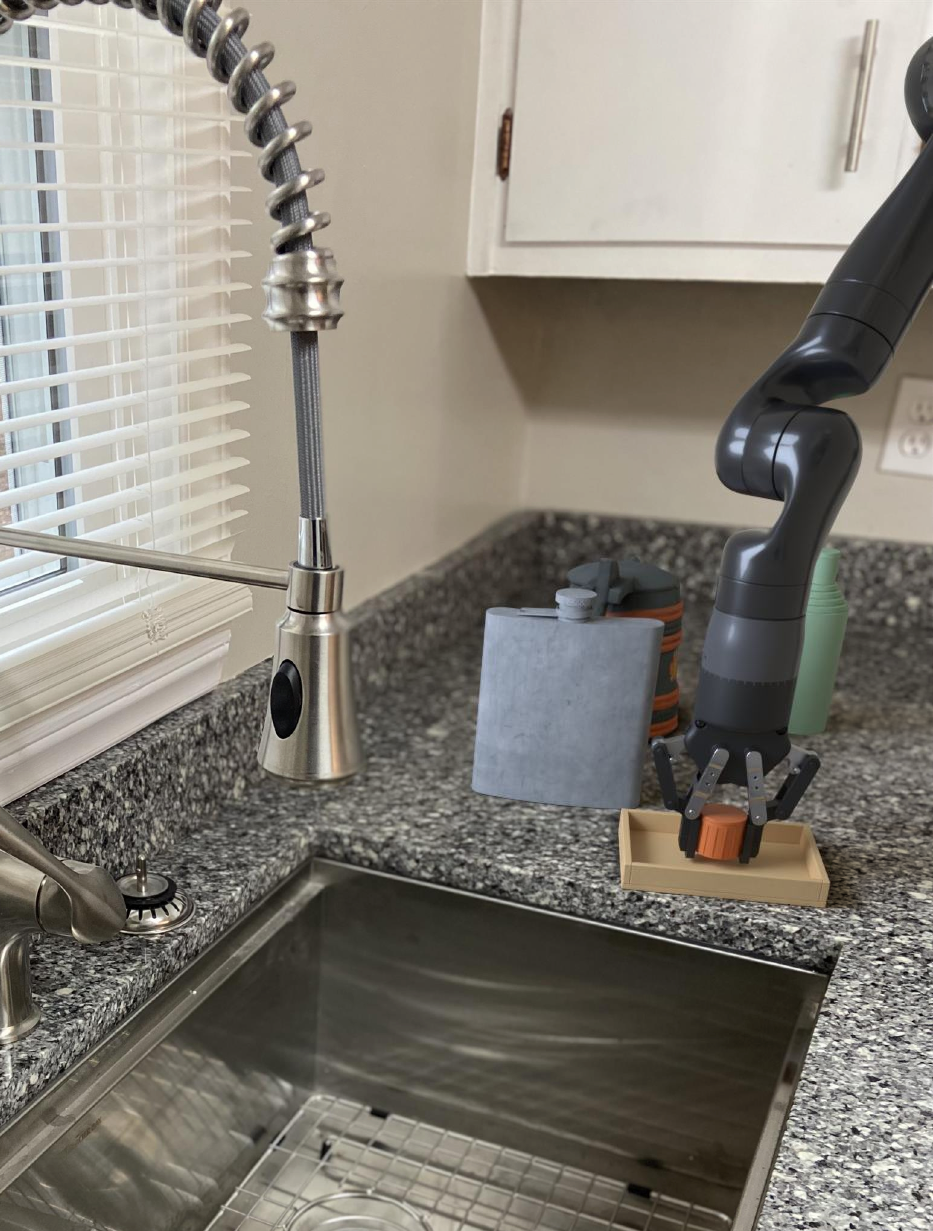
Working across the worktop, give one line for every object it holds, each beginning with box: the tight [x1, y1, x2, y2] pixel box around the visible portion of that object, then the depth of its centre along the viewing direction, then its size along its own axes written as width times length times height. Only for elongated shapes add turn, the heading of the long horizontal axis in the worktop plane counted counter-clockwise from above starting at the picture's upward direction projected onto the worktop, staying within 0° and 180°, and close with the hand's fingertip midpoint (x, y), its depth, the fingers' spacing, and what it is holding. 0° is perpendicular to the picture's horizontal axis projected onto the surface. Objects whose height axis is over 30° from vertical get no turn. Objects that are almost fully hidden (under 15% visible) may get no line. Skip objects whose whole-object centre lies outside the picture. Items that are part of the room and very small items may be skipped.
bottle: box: [788, 547, 850, 736], centre depth 148 cm, size 6×6×20 cm
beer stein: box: [566, 555, 684, 742], centre depth 148 cm, size 19×15×20 cm
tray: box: [617, 808, 831, 909], centre depth 121 cm, size 16×12×2 cm
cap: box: [696, 803, 748, 860], centre depth 120 cm, size 4×4×4 cm
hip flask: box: [471, 587, 665, 810], centre depth 131 cm, size 16×4×20 cm, turn 75°
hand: (716, 856), depth 121 cm, fingers closed on cap, 4 cm apart
